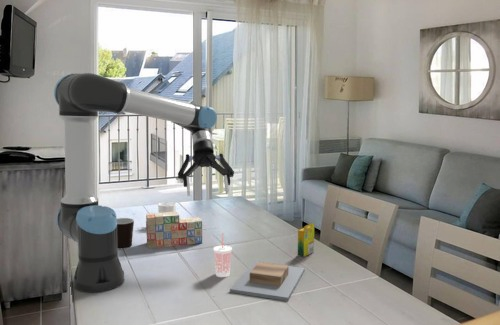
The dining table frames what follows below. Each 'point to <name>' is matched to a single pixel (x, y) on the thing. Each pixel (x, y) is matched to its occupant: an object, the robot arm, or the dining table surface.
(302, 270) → the base board
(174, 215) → the stack of blocks
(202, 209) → the dining table surface
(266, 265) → the walnut pedestal
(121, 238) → the coffee mug
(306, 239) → the crayon box
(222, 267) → the beverage cup
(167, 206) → the white cup
